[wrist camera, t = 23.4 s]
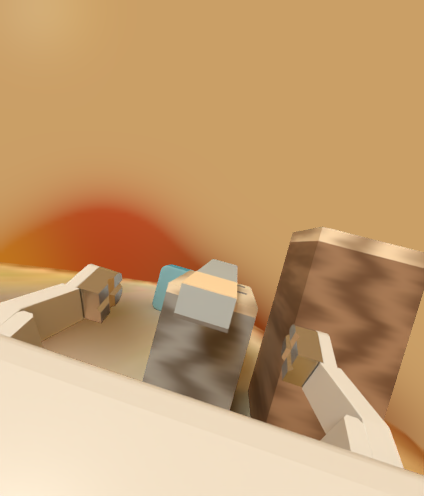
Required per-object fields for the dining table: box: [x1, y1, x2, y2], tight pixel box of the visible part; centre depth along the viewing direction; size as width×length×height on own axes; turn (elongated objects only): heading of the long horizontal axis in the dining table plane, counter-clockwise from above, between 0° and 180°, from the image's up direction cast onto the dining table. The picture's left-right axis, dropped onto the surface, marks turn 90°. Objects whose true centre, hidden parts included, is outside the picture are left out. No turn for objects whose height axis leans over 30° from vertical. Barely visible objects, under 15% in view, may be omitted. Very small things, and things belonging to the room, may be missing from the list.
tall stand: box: [248, 227, 424, 441], centre depth 31 cm, size 11×13×26 cm
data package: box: [153, 265, 196, 311], centre depth 65 cm, size 12×4×12 cm, turn 80°
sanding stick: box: [173, 259, 237, 333], centre depth 28 cm, size 4×22×3 cm, turn 174°
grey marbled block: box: [143, 270, 258, 410], centre depth 33 cm, size 10×13×16 cm
